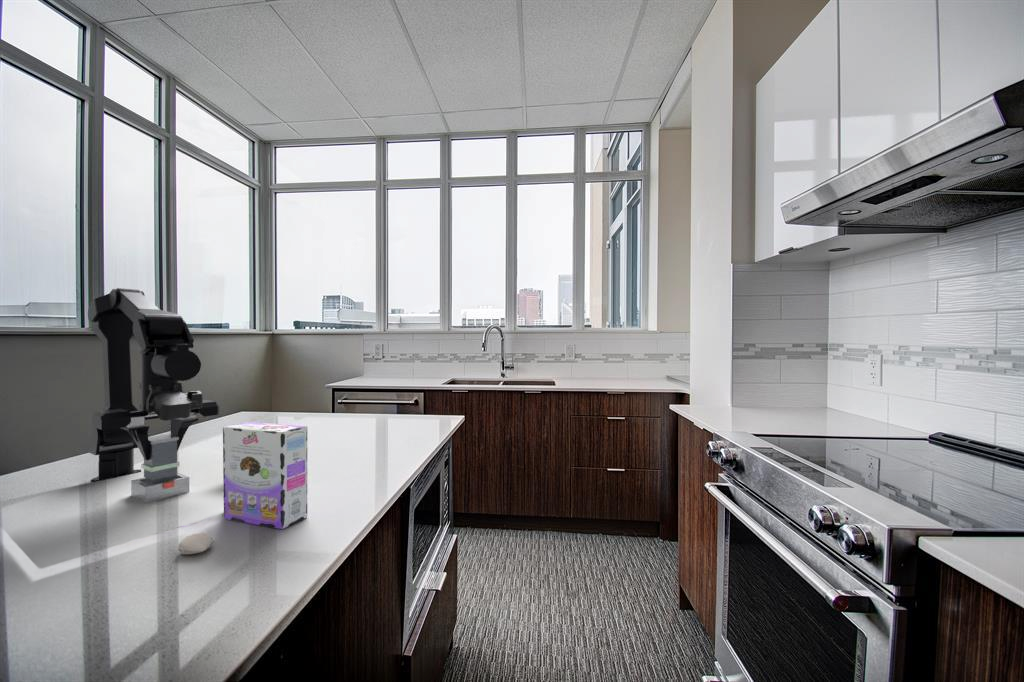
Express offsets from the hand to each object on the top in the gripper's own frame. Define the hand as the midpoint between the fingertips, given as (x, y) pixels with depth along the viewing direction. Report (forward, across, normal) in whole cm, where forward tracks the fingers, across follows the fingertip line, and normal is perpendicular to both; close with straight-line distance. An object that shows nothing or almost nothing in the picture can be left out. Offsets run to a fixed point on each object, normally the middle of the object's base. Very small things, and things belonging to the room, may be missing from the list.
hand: (160, 457), depth 85 cm
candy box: (+8, +6, -26) cm, 28 cm away
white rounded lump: (+9, -6, -30) cm, 32 cm away
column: (+4, 0, 0) cm, 4 cm away
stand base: (+8, 0, 0) cm, 8 cm away
